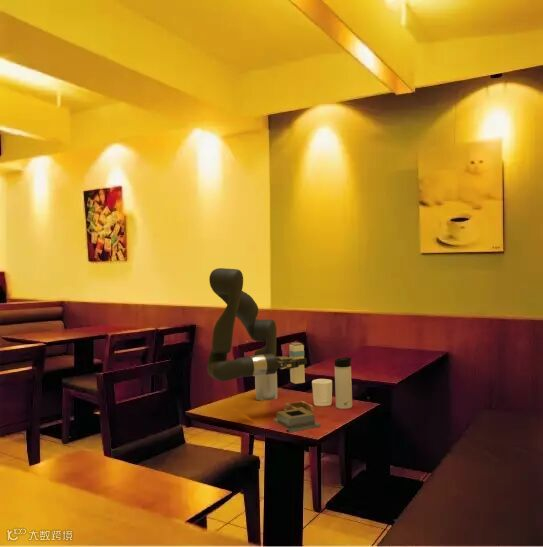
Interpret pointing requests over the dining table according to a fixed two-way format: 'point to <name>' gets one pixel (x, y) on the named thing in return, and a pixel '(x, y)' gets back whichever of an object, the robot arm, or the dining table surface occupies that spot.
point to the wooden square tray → (299, 406)
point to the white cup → (322, 392)
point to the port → (296, 420)
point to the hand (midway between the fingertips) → (303, 360)
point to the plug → (298, 373)
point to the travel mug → (343, 383)
